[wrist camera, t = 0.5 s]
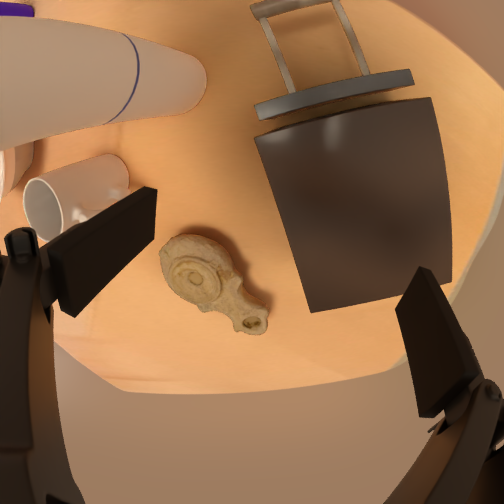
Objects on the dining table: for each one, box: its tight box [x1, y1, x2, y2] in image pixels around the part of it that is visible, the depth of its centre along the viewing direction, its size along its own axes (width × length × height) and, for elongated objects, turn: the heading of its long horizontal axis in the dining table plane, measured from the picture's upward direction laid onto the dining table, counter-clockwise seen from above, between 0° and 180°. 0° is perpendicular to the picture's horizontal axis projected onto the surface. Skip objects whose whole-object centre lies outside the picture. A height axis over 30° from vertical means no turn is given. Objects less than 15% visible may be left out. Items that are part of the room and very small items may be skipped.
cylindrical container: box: [0, 16, 207, 152], centre depth 15 cm, size 7×7×25 cm
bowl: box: [0, 141, 34, 202], centre depth 29 cm, size 16×16×9 cm
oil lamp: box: [159, 234, 269, 335], centre depth 33 cm, size 11×14×5 cm
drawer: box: [250, 0, 415, 121], centre depth 20 cm, size 22×11×8 cm, turn 20°
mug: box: [23, 154, 131, 242], centre depth 27 cm, size 10×7×12 cm, turn 75°
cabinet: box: [254, 97, 452, 313], centre depth 23 cm, size 15×13×10 cm
